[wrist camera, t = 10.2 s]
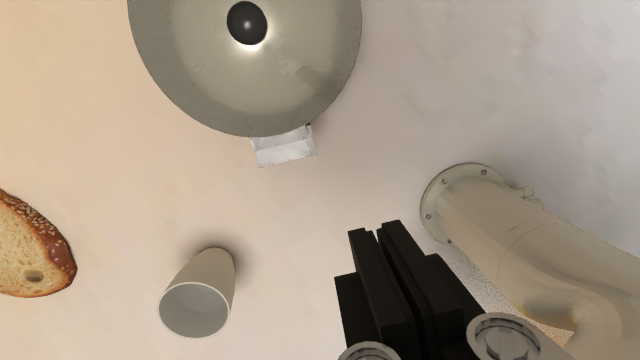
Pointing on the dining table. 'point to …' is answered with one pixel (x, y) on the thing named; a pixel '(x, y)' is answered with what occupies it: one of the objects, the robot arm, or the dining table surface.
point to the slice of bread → (31, 252)
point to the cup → (199, 296)
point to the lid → (249, 60)
